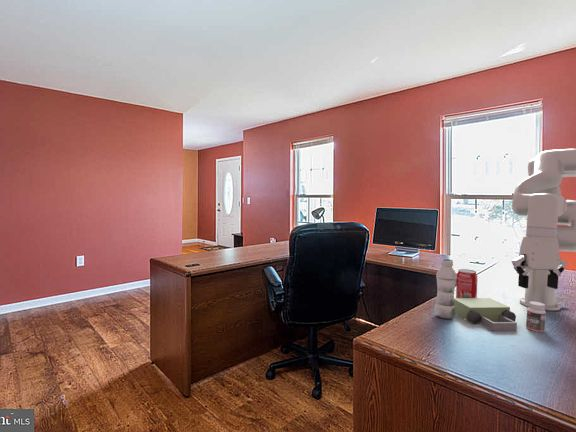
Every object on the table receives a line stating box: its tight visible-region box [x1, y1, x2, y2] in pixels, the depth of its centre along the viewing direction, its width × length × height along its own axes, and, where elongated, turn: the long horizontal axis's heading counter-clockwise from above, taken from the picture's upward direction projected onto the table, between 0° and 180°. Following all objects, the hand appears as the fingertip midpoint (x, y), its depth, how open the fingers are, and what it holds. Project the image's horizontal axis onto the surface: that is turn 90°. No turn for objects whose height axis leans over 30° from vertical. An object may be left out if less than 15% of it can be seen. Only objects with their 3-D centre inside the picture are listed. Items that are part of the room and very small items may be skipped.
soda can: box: [455, 268, 478, 298], centre depth 128 cm, size 7×7×13 cm
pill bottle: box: [525, 302, 547, 333], centre depth 103 cm, size 5×5×8 cm
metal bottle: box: [434, 258, 457, 320], centre depth 112 cm, size 6×7×20 cm
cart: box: [454, 297, 518, 332], centre depth 111 cm, size 16×19×5 cm
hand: (537, 287), depth 102 cm, fingers open, 9 cm apart
